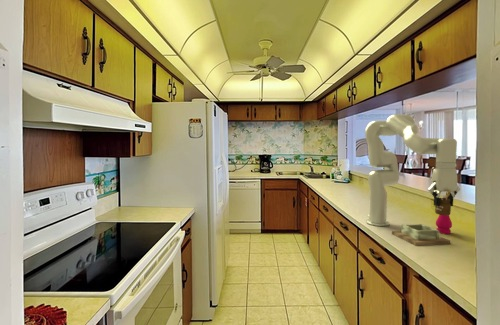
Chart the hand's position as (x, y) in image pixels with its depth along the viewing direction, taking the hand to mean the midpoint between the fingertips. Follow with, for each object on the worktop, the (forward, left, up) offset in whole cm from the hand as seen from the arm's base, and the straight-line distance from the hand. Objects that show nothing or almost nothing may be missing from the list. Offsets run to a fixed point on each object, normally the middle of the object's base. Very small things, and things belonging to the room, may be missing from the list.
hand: (443, 205), depth 136 cm
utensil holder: (0, 0, -4) cm, 4 cm away
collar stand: (-11, -2, -19) cm, 22 cm away
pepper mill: (-19, +18, -19) cm, 32 cm away
